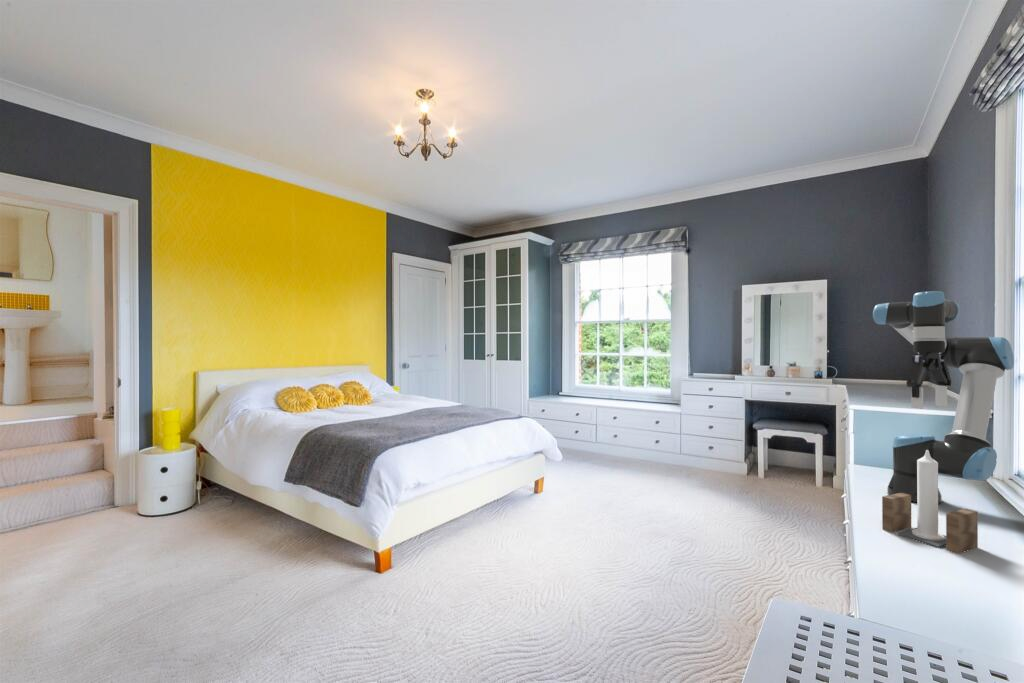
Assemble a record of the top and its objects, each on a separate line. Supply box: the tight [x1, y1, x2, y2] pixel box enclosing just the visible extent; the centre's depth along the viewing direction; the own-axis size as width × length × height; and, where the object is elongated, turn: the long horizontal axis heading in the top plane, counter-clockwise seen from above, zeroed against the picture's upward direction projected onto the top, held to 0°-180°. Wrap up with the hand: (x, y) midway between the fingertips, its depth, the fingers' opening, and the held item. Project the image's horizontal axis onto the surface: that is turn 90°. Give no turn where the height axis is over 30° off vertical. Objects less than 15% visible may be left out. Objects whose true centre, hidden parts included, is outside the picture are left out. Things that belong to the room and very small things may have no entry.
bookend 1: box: [881, 493, 912, 533], centre depth 142 cm, size 10×2×10 cm, turn 113°
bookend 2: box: [945, 508, 979, 554], centre depth 127 cm, size 10×2×10 cm, turn 113°
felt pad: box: [896, 527, 946, 549], centre depth 134 cm, size 11×10×1 cm
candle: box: [912, 450, 944, 541], centre depth 135 cm, size 7×7×25 cm
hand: (929, 407), depth 147 cm, fingers open, 13 cm apart
